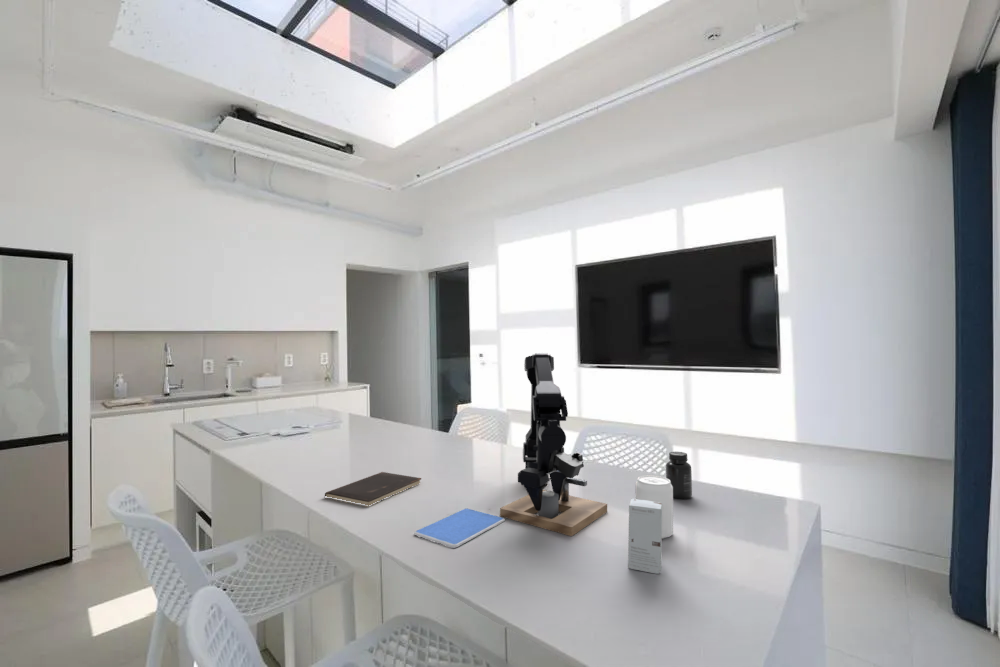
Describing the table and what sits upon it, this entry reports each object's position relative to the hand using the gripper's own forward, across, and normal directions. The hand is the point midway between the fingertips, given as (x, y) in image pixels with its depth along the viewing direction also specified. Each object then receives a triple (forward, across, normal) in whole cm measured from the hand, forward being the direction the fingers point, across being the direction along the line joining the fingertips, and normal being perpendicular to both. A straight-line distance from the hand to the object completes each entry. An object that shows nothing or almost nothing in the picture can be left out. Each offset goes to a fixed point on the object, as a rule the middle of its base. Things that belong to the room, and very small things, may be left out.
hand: (548, 505), depth 114 cm
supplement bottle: (+3, +36, -21) cm, 42 cm away
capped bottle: (+3, 0, 0) cm, 3 cm away
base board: (+3, +3, 0) cm, 4 cm away
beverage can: (+3, +6, -24) cm, 25 cm away
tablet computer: (+4, -18, +13) cm, 22 cm away
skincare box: (+3, -10, -28) cm, 30 cm away
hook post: (+1, +9, -2) cm, 9 cm away
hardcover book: (+4, -12, +51) cm, 53 cm away
